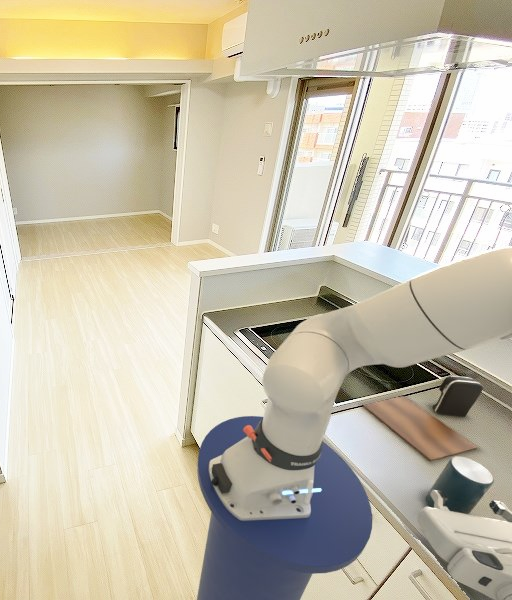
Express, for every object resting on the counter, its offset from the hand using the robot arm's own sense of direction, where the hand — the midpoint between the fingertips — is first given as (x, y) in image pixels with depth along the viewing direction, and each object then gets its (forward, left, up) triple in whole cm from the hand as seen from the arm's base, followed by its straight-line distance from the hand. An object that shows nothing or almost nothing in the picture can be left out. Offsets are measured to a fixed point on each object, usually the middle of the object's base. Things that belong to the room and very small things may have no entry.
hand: (464, 497), depth 63 cm
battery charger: (+29, +22, -7) cm, 37 cm away
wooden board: (+16, +20, -7) cm, 26 cm away
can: (+1, +2, -7) cm, 7 cm away
